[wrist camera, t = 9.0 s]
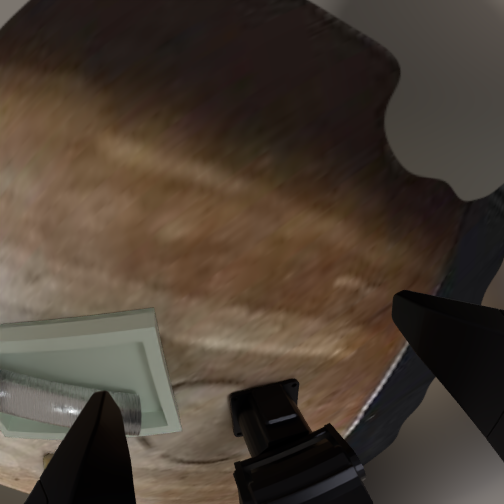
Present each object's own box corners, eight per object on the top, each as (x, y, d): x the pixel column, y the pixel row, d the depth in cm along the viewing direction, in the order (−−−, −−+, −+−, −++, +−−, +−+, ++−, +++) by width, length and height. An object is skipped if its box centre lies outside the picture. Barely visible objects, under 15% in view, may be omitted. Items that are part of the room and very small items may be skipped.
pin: (141, 454, 19) (-32, 421, 13) (131, 426, 23) (-16, 397, 17) (145, 400, 19) (-38, 362, 13) (135, 378, 24) (-18, 346, 17)
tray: (178, 410, 25) (182, 431, 23) (10, 418, 20) (5, 436, 18) (153, 307, 21) (154, 326, 19) (-41, 326, 16) (-53, 343, 14)
